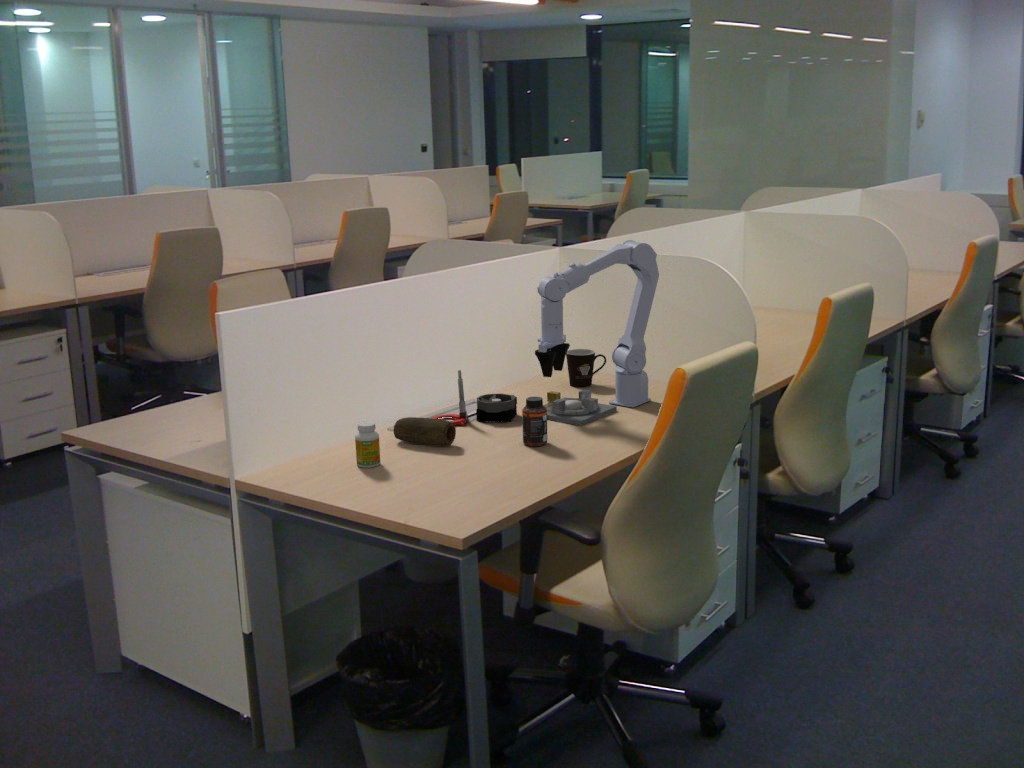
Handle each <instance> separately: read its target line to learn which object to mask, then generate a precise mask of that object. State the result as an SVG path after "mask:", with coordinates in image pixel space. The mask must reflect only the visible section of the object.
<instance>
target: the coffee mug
mask: <svg viewBox="0 0 1024 768" xmlns="http://www.w3.org/2000/svg"><path fill="white" fill-rule="evenodd" d="M598 357H602V358H603V360H604V361H603V363H602V365H601V366H599V367H598V368H597V369H596V370H594V367H595V366H594V365H595V361H596V359H597V358H598ZM565 358H566V364H567V371H568V380H569V386H570V387H571V388H578V389H581V388H583V389H584V388H589V387H591V386H592V383H593V376H594V375H595V374H597V373H598V372H599V371H601V370H602V369H603V368H604V366H605V365H606V363H607V356H606V355H603V354H602V353H600V354H599V353H598V354H596V351H595V350H594V349H589V348H576V349H575V348H574V349H568V351H567V353H566V356H565Z"/></svg>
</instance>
